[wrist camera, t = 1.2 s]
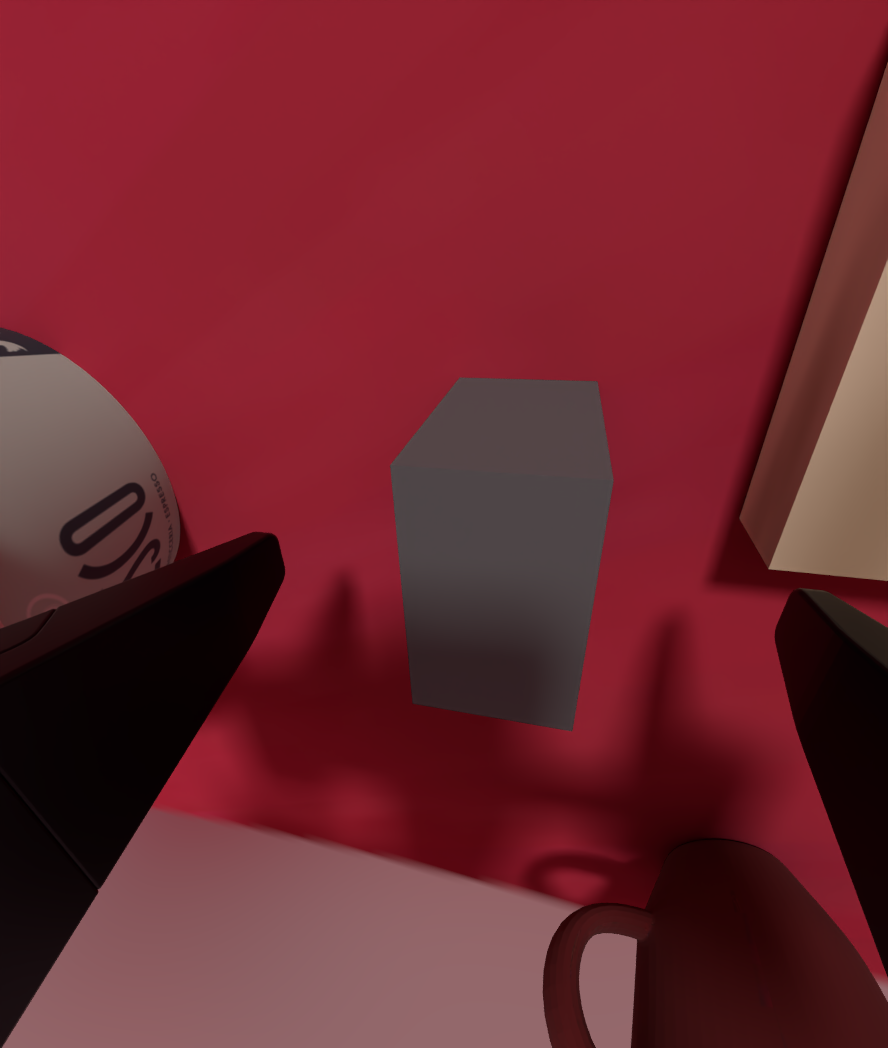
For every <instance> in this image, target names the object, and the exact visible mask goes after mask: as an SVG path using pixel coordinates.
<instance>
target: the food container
mask: <svg viewBox="0 0 888 1048" xmlns="http://www.w3.org/2000/svg"><path fill="white" fill-rule="evenodd" d="M179 542H180V518H179V511H178V506H177V502H176V498H175V495H174V492H173V489H172V486H171V483H170V481H169V478H168V476H167V473H166V471H165V469H164V467H163V465H162V463H161V461H160V459H159V457H158V456H157V454H156V452H155V450H154V449H153V447H152V445H151V444H150V442H149V441H148V439H147V438H146V436H145V435H144V433H143V432H142V430H141V429H140V428H139V426H138V425H137V424H136V422H135V421H134V420H133V419H132V417H131V416H130V415H129V414H128V413H127V411H126V410H125V409H124V408H123V407H122V406H121V405H120V403H119V402H118V401H117V400H116V399H115V398H114V397H113V396H112V395H111V394H110V393H109V392H108V391H107V390H106V389H105V388H104V387H103V386H102V385H101V384H99V383H98V382H97V381H96V380H95V379H94V378H93V377H91V376H90V375H89V374H88V373H87V372H85V371H84V370H83V369H81V368H80V367H79V366H78V365H76V364H75V363H73V362H72V361H71V360H69V359H68V358H66V357H65V356H63V355H62V354H60V353H58V352H57V351H55V350H53V349H52V348H50V347H48V346H46V345H44V344H42V343H41V342H39V341H36V340H34V339H32V338H30V337H28V336H25V335H23V334H20V333H17V332H14V331H11V330H8V329H4V328H0V628H3V627H6V626H9V625H11V624H14V623H17V622H19V621H22V620H25V619H27V618H30V617H33V616H35V615H38V614H40V613H43V612H46V611H48V610H51V609H57V608H58V607H59V606H62V605H64V604H67V603H69V602H72V601H75V600H77V599H80V598H82V597H85V596H88V595H90V594H93V593H95V592H98V591H101V590H103V589H106V588H109V587H111V586H114V585H116V584H119V583H122V582H124V581H127V580H129V579H132V578H135V577H137V576H140V575H142V574H145V573H148V572H150V571H153V570H155V569H158V568H161V567H163V566H166V565H169V564H171V563H173V562H174V560H175V557H176V555H177V551H178V547H179Z"/></svg>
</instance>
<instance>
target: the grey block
mask: <svg viewBox="0 0 888 1048" xmlns="http://www.w3.org/2000/svg"><path fill="white" fill-rule="evenodd" d="M390 468H391V479H392V489H393V500H394V511H395V521H396V532H397V543H398V553H399V564H400V574H401V585H402V596H403V606H404V617H405V628H406V638H407V649H408V659H409V670H410V681H411V691H412V702H413V704H418V705H424V706H429V707H435V708H441V709H447V710H452V711H458V712H464V713H470V714H476V715H481V716H487V717H493V718H499V719H504V720H510V721H516V722H522V723H527V724H533V725H539V726H545V727H550V728H556V729H562V730H568V731H572V730H573V724H574V718H575V712H576V706H577V699H578V693H579V687H580V681H581V675H582V669H583V663H584V657H585V651H586V645H587V639H588V633H589V626H590V620H591V614H592V608H593V602H594V596H595V590H596V584H597V578H598V572H599V566H600V560H601V553H602V547H603V541H604V535H605V529H606V523H607V517H608V511H609V505H610V499H611V493H612V487H613V474H612V468H611V462H610V455H609V449H608V443H607V437H606V431H605V425H604V418H603V412H602V406H601V400H600V394H599V388H598V382H597V381H565V380H528V379H490V378H459V379H458V380H457V382H456V383H455V384H454V386H453V387H452V388H451V389H450V391H449V392H448V393H447V394H446V396H445V397H444V398H443V399H442V401H441V402H440V403H439V404H438V406H437V407H436V408H435V409H434V411H433V412H432V413H431V414H430V416H429V417H428V418H427V420H426V421H425V422H424V423H423V425H422V426H421V427H420V428H419V430H418V431H417V432H416V433H415V435H414V436H413V437H412V438H411V440H410V441H409V442H408V443H407V445H406V446H405V447H404V449H403V450H402V451H401V452H400V454H399V455H398V456H397V457H396V459H395V460H394V461H393V462H392V464H391V465H390Z"/></svg>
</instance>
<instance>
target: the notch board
mask: <svg viewBox="0 0 888 1048" xmlns="http://www.w3.org/2000/svg"><path fill="white" fill-rule="evenodd" d="M739 519H740V521H741V523H742V524H743V526H744V528H745V529H746V531H747V533H748V535H749V536H750V538H751V540H752V542H753V543H754V545H755V547H756V548H757V550H758V552H759V554H760V555H761V557H762V559H763V561H764V562H765V564H766V566H767V567H768V569H772V570H783V571H793V572H803V573H813V574H823V575H833V576H844V577H854V578H864V579H874V580H884V581H888V63H887V66H886V69H885V72H884V75H883V78H882V81H881V84H880V87H879V90H878V93H877V96H876V100H875V103H874V106H873V109H872V112H871V115H870V118H869V121H868V124H867V127H866V130H865V133H864V136H863V139H862V143H861V146H860V149H859V152H858V155H857V158H856V161H855V164H854V167H853V170H852V173H851V176H850V179H849V182H848V186H847V189H846V192H845V195H844V198H843V201H842V204H841V207H840V210H839V213H838V216H837V219H836V222H835V225H834V229H833V232H832V235H831V238H830V241H829V244H828V247H827V250H826V253H825V256H824V259H823V262H822V265H821V268H820V272H819V275H818V278H817V281H816V284H815V287H814V290H813V293H812V296H811V299H810V302H809V305H808V308H807V311H806V315H805V318H804V321H803V324H802V327H801V330H800V333H799V336H798V339H797V342H796V345H795V348H794V351H793V354H792V358H791V361H790V364H789V367H788V370H787V373H786V376H785V379H784V382H783V385H782V388H781V391H780V394H779V398H778V401H777V404H776V407H775V410H774V413H773V416H772V419H771V422H770V425H769V428H768V431H767V434H766V437H765V441H764V444H763V447H762V450H761V453H760V456H759V459H758V462H757V465H756V468H755V471H754V474H753V477H752V480H751V484H750V487H749V490H748V493H747V496H746V499H745V502H744V505H743V508H742V511H741V514H740V517H739Z"/></svg>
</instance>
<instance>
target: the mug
mask: <svg viewBox="0 0 888 1048" xmlns="http://www.w3.org/2000/svg"><path fill="white" fill-rule="evenodd" d="M601 933H614V934H620V935H625V936H629V937H632V938H635V939H637V954H636V974H635V992H634V1009H633V1024H632V1039H631V1048H888V1002H887V1000H886V998H885V996H884V995H883V993H882V991H881V989H880V987H879V985H878V984H877V982H876V980H875V979H874V977H873V975H872V974H871V972H870V970H869V969H868V967H867V965H866V964H865V962H864V961H863V959H862V958H861V956H860V955H859V953H858V952H857V950H856V949H855V947H854V946H853V945H852V944H851V942H850V941H849V940H848V938H847V937H846V936H845V934H844V933H843V932H842V931H841V930H840V928H839V927H838V926H837V925H836V924H835V922H834V921H833V920H832V919H831V918H830V916H829V915H828V914H827V913H826V912H825V911H824V909H823V908H822V907H821V906H820V905H819V904H818V903H817V901H816V900H815V899H814V898H813V897H812V896H811V895H810V894H809V892H808V891H807V890H806V889H805V888H804V887H803V886H802V885H801V883H800V882H799V881H798V880H797V879H796V878H795V877H794V876H793V874H792V873H791V872H790V871H789V870H788V869H787V868H786V867H785V866H784V865H783V864H782V863H781V862H780V861H779V860H778V859H777V858H775V857H774V856H773V855H771V854H769V853H768V852H766V851H764V850H762V849H759V848H757V847H754V846H751V845H748V844H745V843H740V842H735V841H729V840H716V839H713V840H699V841H694V842H689V843H687V844H684V845H681V846H679V847H677V848H676V849H674V850H673V851H672V852H671V853H670V854H669V855H668V857H667V858H666V860H665V862H664V865H663V867H662V869H661V872H660V874H659V877H658V879H657V882H656V884H655V886H654V889H653V891H652V894H651V896H650V899H649V901H648V903H647V906H646V908H645V909H641V908H638V907H634V906H629V905H624V904H618V903H598V904H591V905H588V906H584V907H582V908H580V909H579V910H577V911H575V912H573V913H572V914H570V915H569V916H568V917H567V918H566V919H565V920H564V921H563V922H562V923H561V924H560V926H559V928H558V929H557V931H556V932H555V934H554V936H553V937H552V940H551V942H550V945H549V948H548V951H547V955H546V961H545V966H544V975H543V1000H544V1012H545V1018H546V1024H547V1028H548V1033H549V1038H550V1042H551V1045H552V1048H596V1047H595V1045H594V1043H593V1041H592V1039H591V1036H590V1033H589V1031H588V1028H587V1025H586V1022H585V1018H584V1014H583V1010H582V1006H581V999H580V991H579V970H580V962H581V957H582V953H583V950H584V948H585V945H586V944H587V942H588V940H589V939H590V938H591V937H592V936H594V935H596V934H601Z"/></svg>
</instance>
